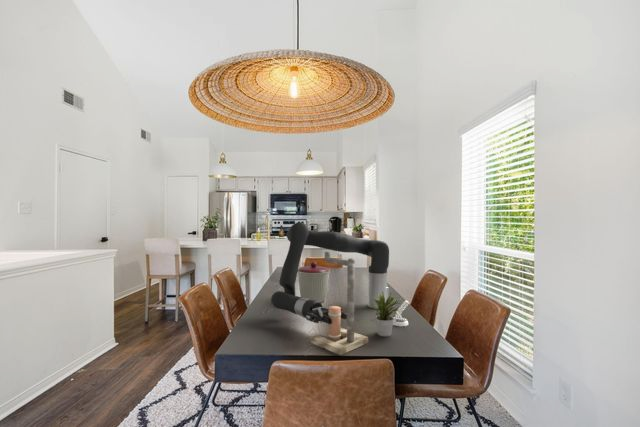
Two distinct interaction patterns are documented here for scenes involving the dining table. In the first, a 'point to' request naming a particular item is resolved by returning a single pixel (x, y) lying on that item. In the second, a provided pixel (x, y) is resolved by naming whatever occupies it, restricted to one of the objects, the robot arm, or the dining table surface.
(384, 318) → the house plant
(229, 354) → the dining table surface
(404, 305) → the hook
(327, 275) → the canister
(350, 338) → the wooden gallows stand
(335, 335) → the orange cylindrical bottle
